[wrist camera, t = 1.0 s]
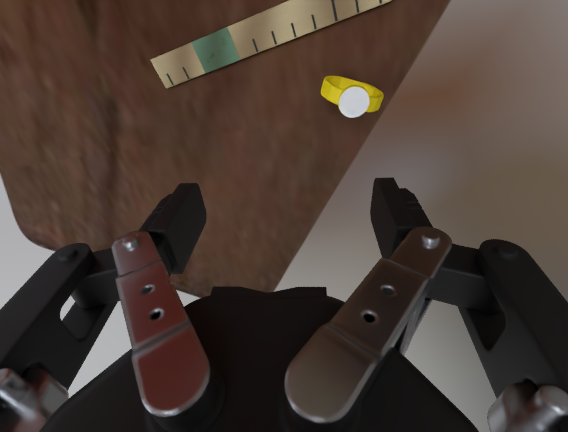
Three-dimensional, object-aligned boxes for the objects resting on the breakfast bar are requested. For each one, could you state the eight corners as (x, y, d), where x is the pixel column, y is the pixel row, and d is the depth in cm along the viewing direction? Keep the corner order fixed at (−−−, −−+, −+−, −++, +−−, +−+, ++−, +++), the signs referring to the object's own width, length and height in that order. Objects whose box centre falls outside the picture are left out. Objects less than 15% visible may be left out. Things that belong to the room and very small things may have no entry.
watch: (381, 79, 30) (394, 95, 26) (370, 105, 32) (381, 125, 27) (325, 64, 30) (328, 78, 25) (318, 92, 32) (319, 110, 27)
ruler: (386, -42, 25) (388, -43, 24) (391, 0, 26) (392, 0, 26) (152, 58, 31) (149, 60, 30) (167, 87, 32) (165, 89, 32)
